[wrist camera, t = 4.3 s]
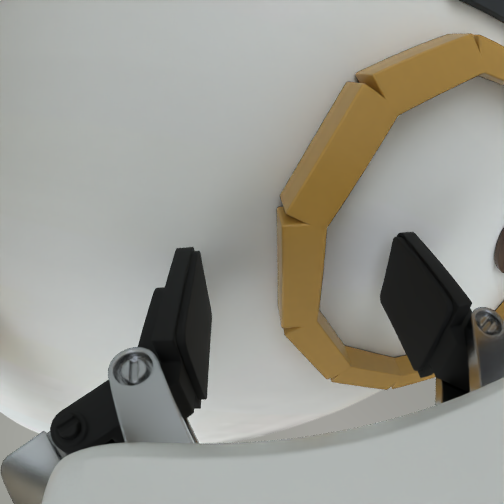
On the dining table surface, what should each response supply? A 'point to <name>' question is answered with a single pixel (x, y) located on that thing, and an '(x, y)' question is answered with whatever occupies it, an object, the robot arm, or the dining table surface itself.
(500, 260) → the post
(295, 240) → the ring
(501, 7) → the mat
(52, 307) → the dining table surface
